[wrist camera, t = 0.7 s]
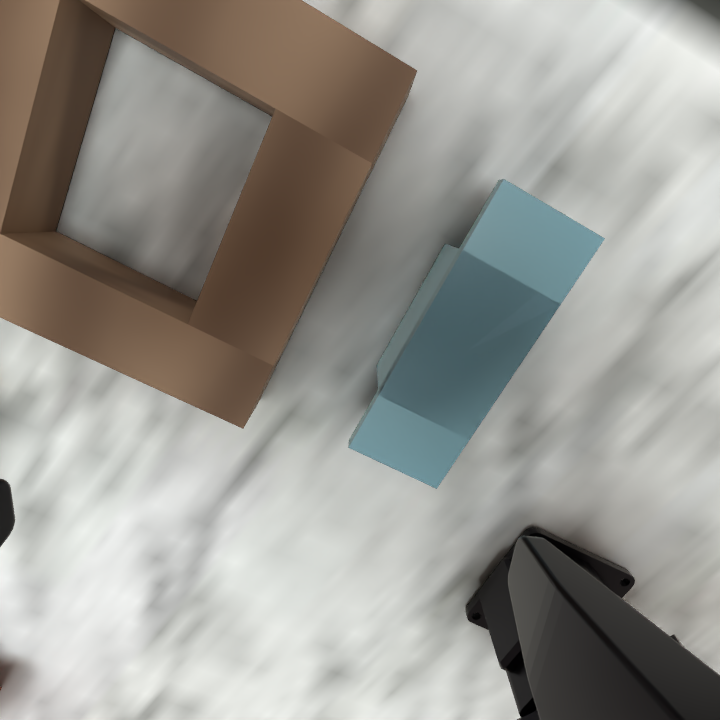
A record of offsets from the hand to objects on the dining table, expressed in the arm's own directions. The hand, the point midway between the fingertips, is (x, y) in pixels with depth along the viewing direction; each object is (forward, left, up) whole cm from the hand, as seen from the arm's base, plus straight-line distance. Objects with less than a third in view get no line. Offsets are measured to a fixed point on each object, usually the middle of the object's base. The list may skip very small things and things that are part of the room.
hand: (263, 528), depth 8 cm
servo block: (-5, -3, -13) cm, 14 cm away
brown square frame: (+8, -3, -12) cm, 15 cm away
